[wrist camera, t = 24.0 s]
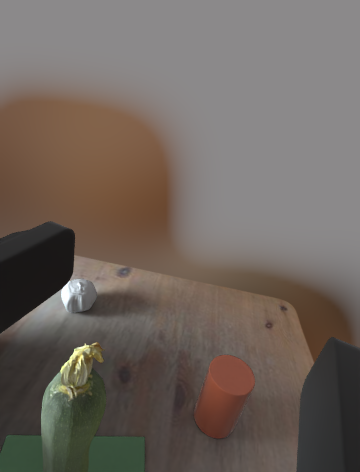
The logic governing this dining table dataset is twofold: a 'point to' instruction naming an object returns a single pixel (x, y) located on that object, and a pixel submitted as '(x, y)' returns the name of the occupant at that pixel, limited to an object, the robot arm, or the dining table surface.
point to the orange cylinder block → (223, 396)
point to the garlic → (78, 295)
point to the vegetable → (72, 412)
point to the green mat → (100, 454)
